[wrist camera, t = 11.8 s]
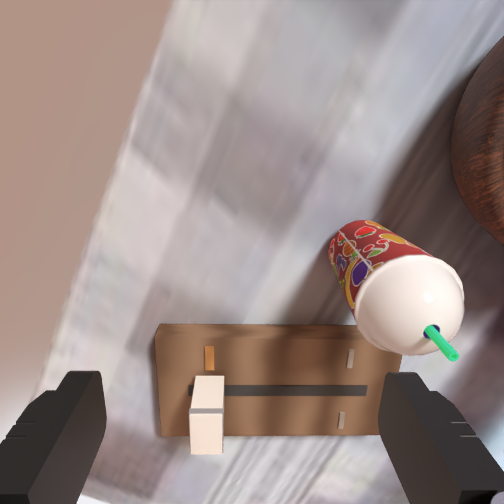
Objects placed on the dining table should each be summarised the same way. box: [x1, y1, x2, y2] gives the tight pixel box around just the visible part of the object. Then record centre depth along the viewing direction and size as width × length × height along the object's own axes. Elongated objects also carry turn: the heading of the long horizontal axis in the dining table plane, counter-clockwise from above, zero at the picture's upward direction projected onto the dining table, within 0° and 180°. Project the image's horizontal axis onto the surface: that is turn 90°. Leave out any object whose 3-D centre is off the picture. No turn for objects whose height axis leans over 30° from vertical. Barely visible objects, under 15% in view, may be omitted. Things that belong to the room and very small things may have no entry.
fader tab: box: [189, 376, 224, 454], centre depth 41 cm, size 3×5×6 cm, turn 178°
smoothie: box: [329, 220, 465, 361], centre depth 32 cm, size 8×8×20 cm
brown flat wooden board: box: [155, 324, 402, 436], centre depth 45 cm, size 28×14×3 cm, turn 88°
